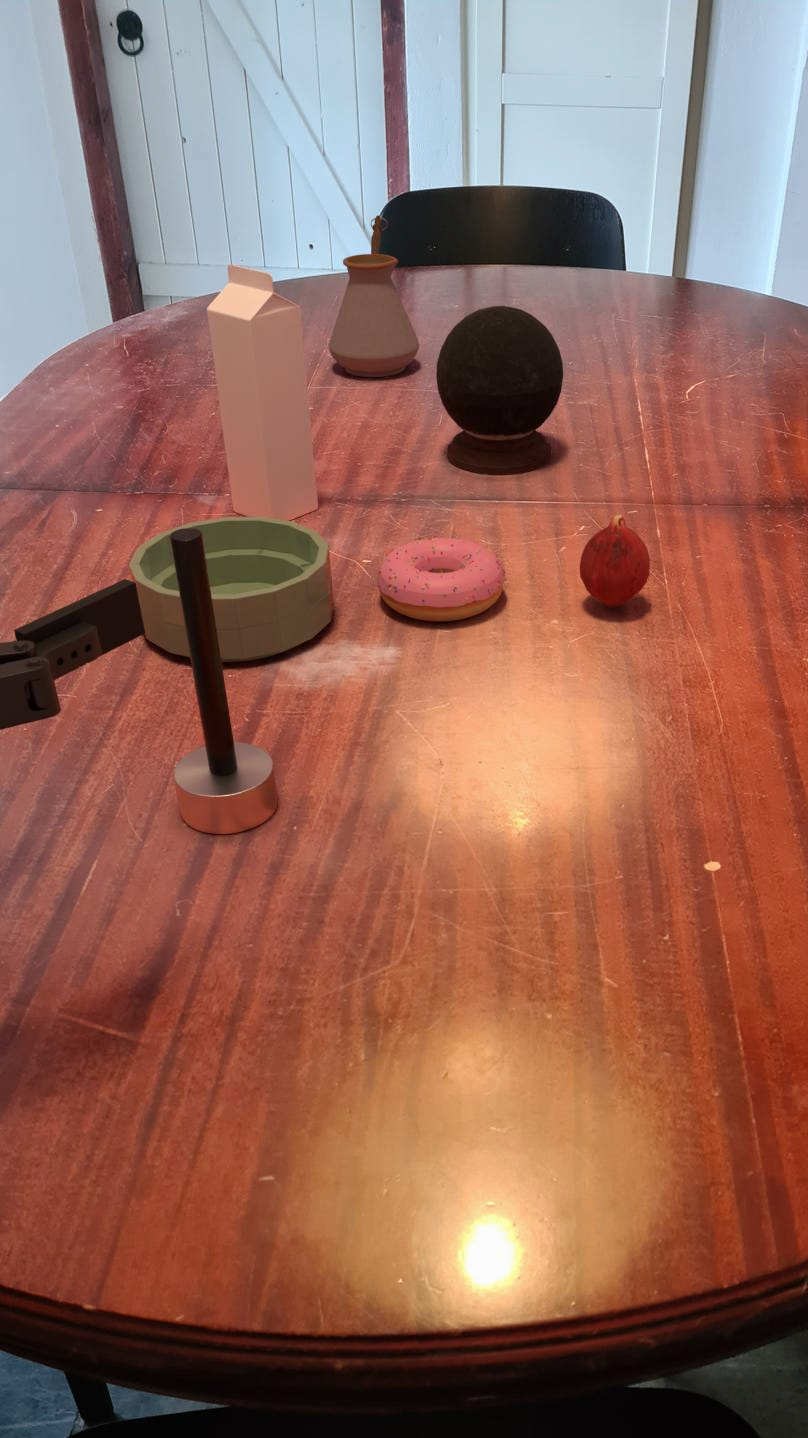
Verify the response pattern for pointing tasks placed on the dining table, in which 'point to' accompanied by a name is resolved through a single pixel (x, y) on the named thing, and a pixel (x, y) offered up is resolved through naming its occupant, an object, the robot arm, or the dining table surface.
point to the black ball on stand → (499, 390)
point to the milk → (263, 397)
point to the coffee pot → (372, 317)
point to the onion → (615, 564)
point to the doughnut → (440, 579)
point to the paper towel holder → (215, 718)
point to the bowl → (241, 586)
